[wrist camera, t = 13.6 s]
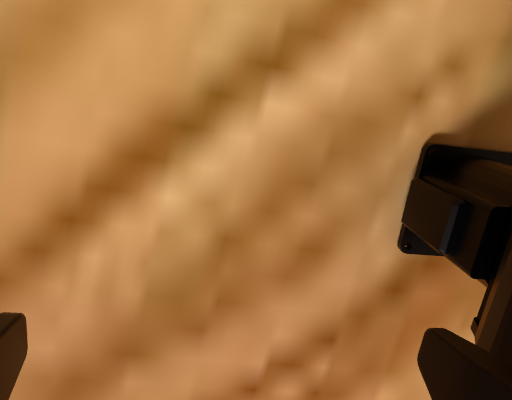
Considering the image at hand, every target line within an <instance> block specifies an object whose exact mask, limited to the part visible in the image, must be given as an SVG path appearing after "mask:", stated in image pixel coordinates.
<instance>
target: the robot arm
mask: <svg viewBox="0 0 512 400" xmlns="http://www.w3.org/2000/svg"><path fill="white" fill-rule="evenodd" d="M432 149H434V153H433V155H432V156H429V152H430V151H431V150H432ZM402 223H403V224H402V227H401V231H400V235H399V239H398V244H397V246H398V248H399V249H400V250H401V251H402V252H403V253H406V254H419V255H433V256H445V257H446V258H447V259H449V260H450V261H451V262H452V263H454V264H455V265H456V266H457V267H459V268H460V269H461V270H462V271H464V272H465V273H466V274H467V275H469V276H470V277H471V278H473V279H477V280H478V281H479V282H481V283H482V284H483V285H485V286H486V287H487V289H486V292H485V295H484V298H483V301H482V304H481V307H480V309H479V312H478V315H477V317H475V318H474V319H473V322H472V325H471V330H472V332H473V334H474V336H475V344H473V343H471V342H469V341H467V340H465V339H464V338H462V337H460V336H458V335H456V334H454V333H452V332H451V331H449V330H447V329H444V328H429V329H427V330H426V331H425V333H424V336H423V340H422V343H421V346H420V350H419V353H418V358H417V361H418V366H419V369H420V372H421V374H422V377H423V379H424V381H425V384H426V386H427V389H428V391H429V394H430V396H431V399H432V400H512V152H508V151H500V150H491V149H482V148H474V147H465V146H457V145H448V144H439V143H428V144H426V145H425V146H424V147H423V148H422V151H421V154H420V158H419V162H418V166H417V170H416V174H415V177H414V179H413V180H412V181H411V185H410V189H409V193H408V197H407V201H406V204H405V208H404V212H403V216H402ZM407 242H410V243H409V245H408V246H407V247H405V244H406V243H407ZM27 349H28V344H27V326H26V318H25V315H24V314H22V313H9V312H3V313H0V400H9V397H10V395H11V392H12V390H13V388H14V385H15V383H16V380H17V378H18V375H19V373H20V370H21V368H22V366H23V363H24V361H25V358H26V355H27Z"/></svg>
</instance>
